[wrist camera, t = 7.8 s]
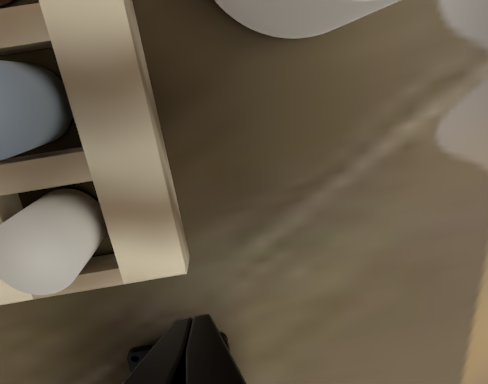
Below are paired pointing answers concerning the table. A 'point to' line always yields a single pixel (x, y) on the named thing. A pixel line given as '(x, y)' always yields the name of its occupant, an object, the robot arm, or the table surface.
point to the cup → (299, 15)
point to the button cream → (50, 241)
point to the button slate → (30, 107)
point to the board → (100, 140)
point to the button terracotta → (4, 2)
